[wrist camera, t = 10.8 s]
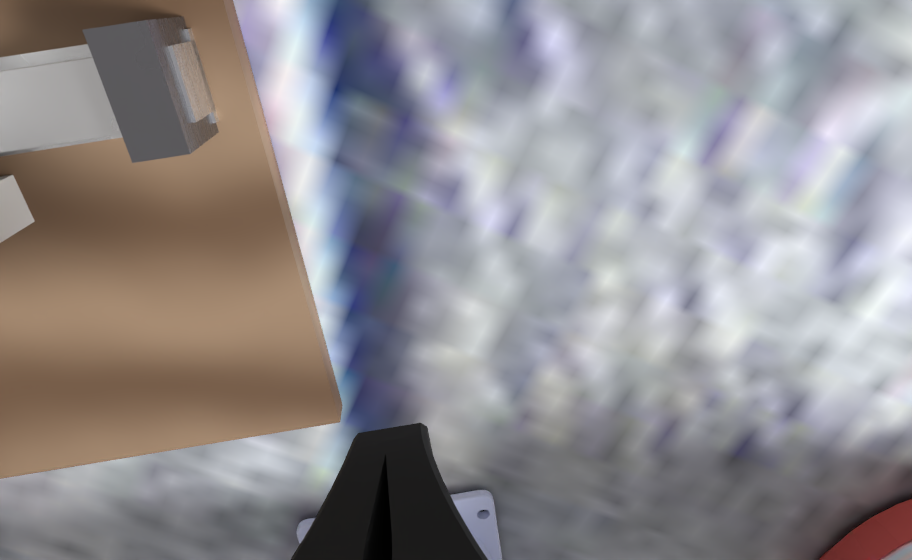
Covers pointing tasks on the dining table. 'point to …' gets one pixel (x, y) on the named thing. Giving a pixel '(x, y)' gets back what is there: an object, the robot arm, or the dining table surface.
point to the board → (153, 274)
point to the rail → (110, 93)
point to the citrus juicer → (878, 537)
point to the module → (12, 208)
